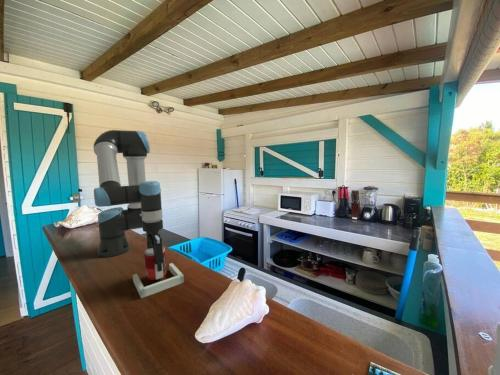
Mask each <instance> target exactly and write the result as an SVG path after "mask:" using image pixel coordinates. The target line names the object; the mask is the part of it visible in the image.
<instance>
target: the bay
mask: <svg viewBox="0 0 500 375" xmlns="http://www.w3.org/2000/svg"><path fill="white" fill-rule="evenodd" d="M168 266H169V267H168V271H170V273H171V274H172V275H173V276H172V277H170V278H167V279H164V280H161V281H158V282H155V283H152V284H150V285H146V286H144V284H143V283H142V281H141V279H140V277H139V276H138V274H137V273H134V274H132V281H133V285H134V286H135V288H136V290H137V292H138V294H139V297H140V299H143V298H146V297H149V296H151V295H154V294H157V293H160V292H162V291H165V290H168V289H170V288H173V287H175V286H179V285H181V284H184V283H185V275H184V274H183V272H181V271H180V270H179V268H178V267H177V266H176V265H175V264H174V263H173V262H171V263H168Z"/></svg>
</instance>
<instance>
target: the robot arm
mask: <svg viewBox="0 0 500 375" xmlns="http://www.w3.org/2000/svg"><path fill="white" fill-rule="evenodd" d="M150 147H151V146H150V141H149V138H148V135H147V133H145V132H144V131H139V130H118V129H117V130H116V129H112V130H111V129H110V130H106V131H105V132H103V133H101V134H100V135H98V137H96V139H95V141H94V143H93V153H94V155H95V156H96V160H97V163H96V164H97V173H98V186H99V187H95V188H94V189H93V198H94V205H95V206H96V207H100V208H101V207H102V208H103V207H104V208H105V207H111V208H108V209H104V210H102V211H100V212H99V213H97V214H98V215H97V223H98V231H99V242H98V246H97V256H98V257H101V258H109V257H115V256H119V255H123V254H125V253H126V252H128V251H129V250H131V244H130V241H129V240H128V238H127V236H126V231H131V230H137V229H142V231H143V232H145V233H146V249H148V248H153V251H154V257H155V263H153V264H154V265H155V275H156V279H157V280H160V279H162V278H164V277H163V264H162V263H164V257H163V248H162V247H163V239H162V238H163V237H161V234H160V233H159V231H161V230H162V229H164V221H163V207H162V196H161V195H162V194H161V192H162V189H161V183H160V182H159V181H158V180H150V181H149V180H148V181H146V165H145V159H146V158H148V154H150V153H151V148H150ZM117 154H122V157H123V159H125V161H126V169H127V172H126V173H127V181H128V185H122V184H121V179H120V178H121V177H120V173H119V166H118V165H119V164H118V159H117ZM121 205H127V207H126V209H124V208H123V207H122V206H121ZM112 206H118V207H113V208H112ZM119 206H120V207H119ZM159 278H160V279H159Z"/></svg>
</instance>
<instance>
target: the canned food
mask: <svg viewBox="0 0 500 375" xmlns="http://www.w3.org/2000/svg"><path fill="white" fill-rule="evenodd" d="M162 248H163V257H164V263H162V264H163V277H162V278H164V277H165V276H166V274H167V273H168V272H167V271H168V270H167V258H166V249H165V247H164V246H162ZM143 253H144V255H143V256H144V264H145V265H144V267H145V276H146V278H147V279H148V280H151V281H156V280H160V279H161V278H159V279H156V275H155V265H154V264H153V263H155V257H154V251H153V248H148V249H147V248H146V249H145V250H144V252H143Z"/></svg>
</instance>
